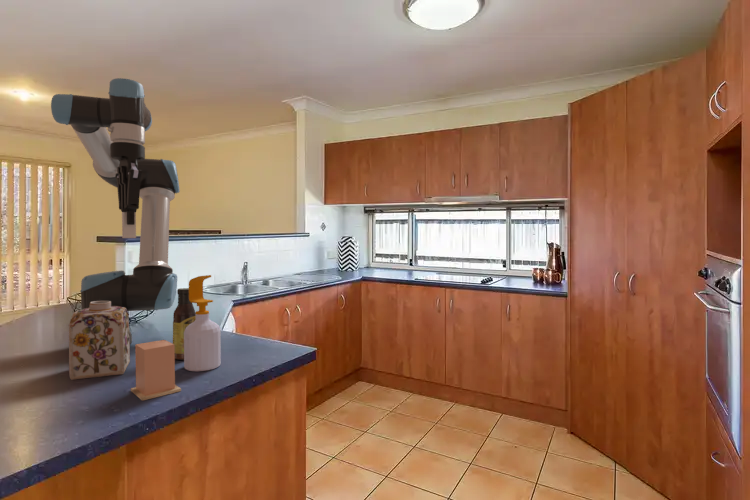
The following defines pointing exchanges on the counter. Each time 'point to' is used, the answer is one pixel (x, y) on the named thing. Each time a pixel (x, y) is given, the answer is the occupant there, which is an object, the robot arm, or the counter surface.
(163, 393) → the post
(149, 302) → the robot arm
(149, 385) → the peach block
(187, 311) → the sauce bottle
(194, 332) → the soap bottle
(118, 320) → the decorative jar
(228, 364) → the counter surface
